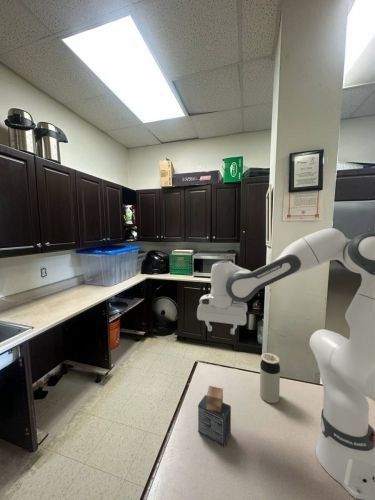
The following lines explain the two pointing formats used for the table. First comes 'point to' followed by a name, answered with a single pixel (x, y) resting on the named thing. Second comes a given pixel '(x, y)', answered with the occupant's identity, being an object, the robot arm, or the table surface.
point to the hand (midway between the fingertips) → (221, 332)
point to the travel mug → (269, 378)
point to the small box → (214, 422)
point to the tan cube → (214, 398)
